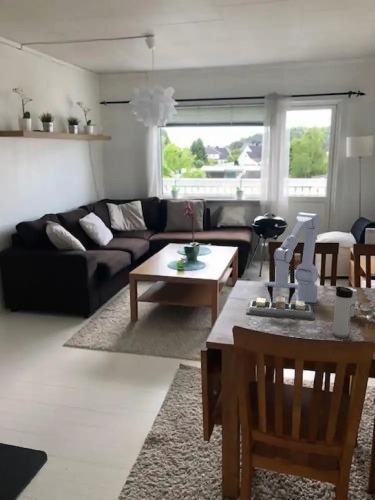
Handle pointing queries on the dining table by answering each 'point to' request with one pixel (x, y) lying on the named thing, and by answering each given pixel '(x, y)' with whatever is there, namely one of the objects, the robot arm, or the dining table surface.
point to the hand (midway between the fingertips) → (280, 302)
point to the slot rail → (290, 311)
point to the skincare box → (353, 301)
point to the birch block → (280, 303)
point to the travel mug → (342, 312)
